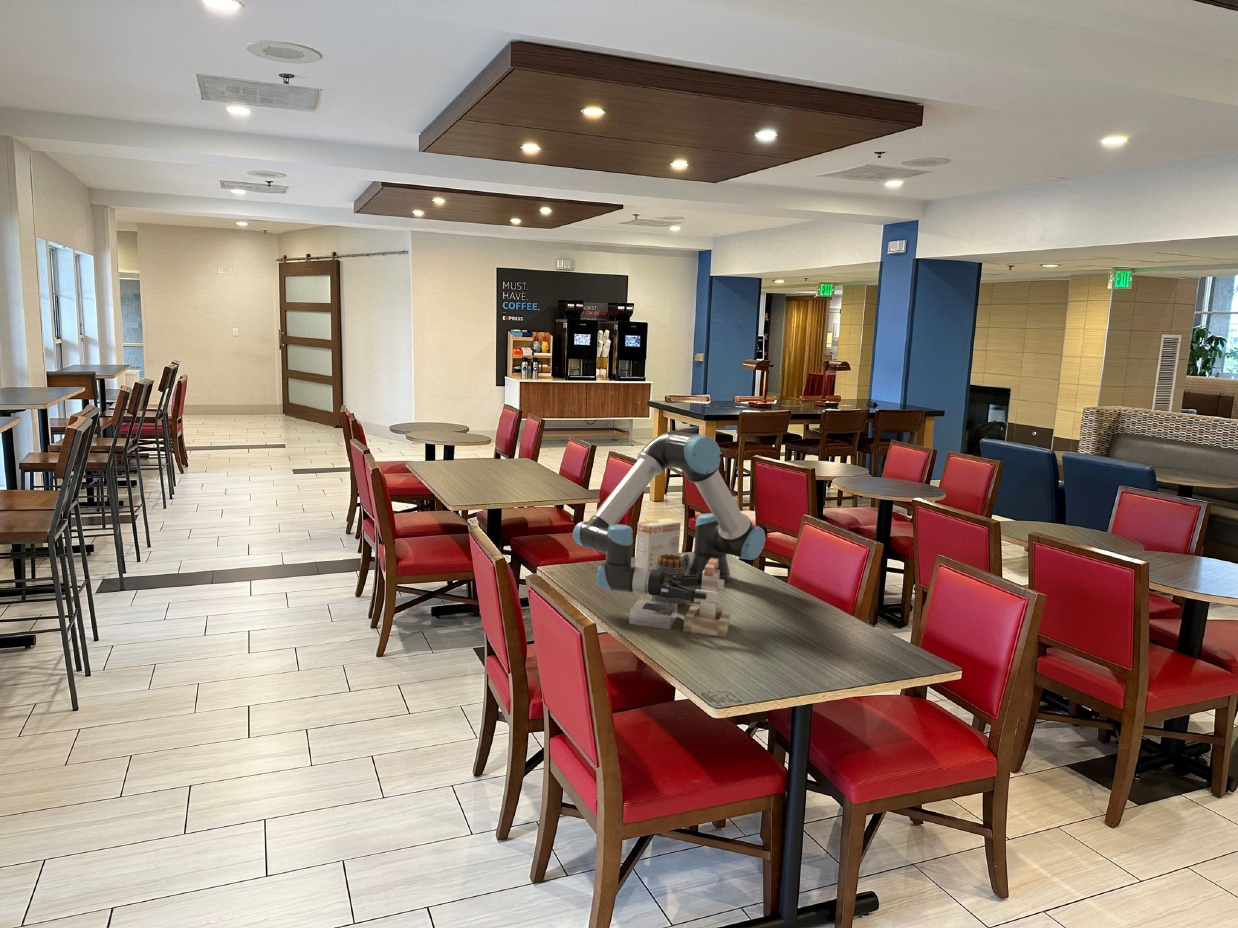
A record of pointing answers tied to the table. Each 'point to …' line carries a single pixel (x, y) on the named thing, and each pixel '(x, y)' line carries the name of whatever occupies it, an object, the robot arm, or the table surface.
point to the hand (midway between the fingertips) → (721, 590)
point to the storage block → (707, 622)
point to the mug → (675, 567)
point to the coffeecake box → (656, 541)
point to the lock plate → (653, 614)
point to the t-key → (709, 588)
